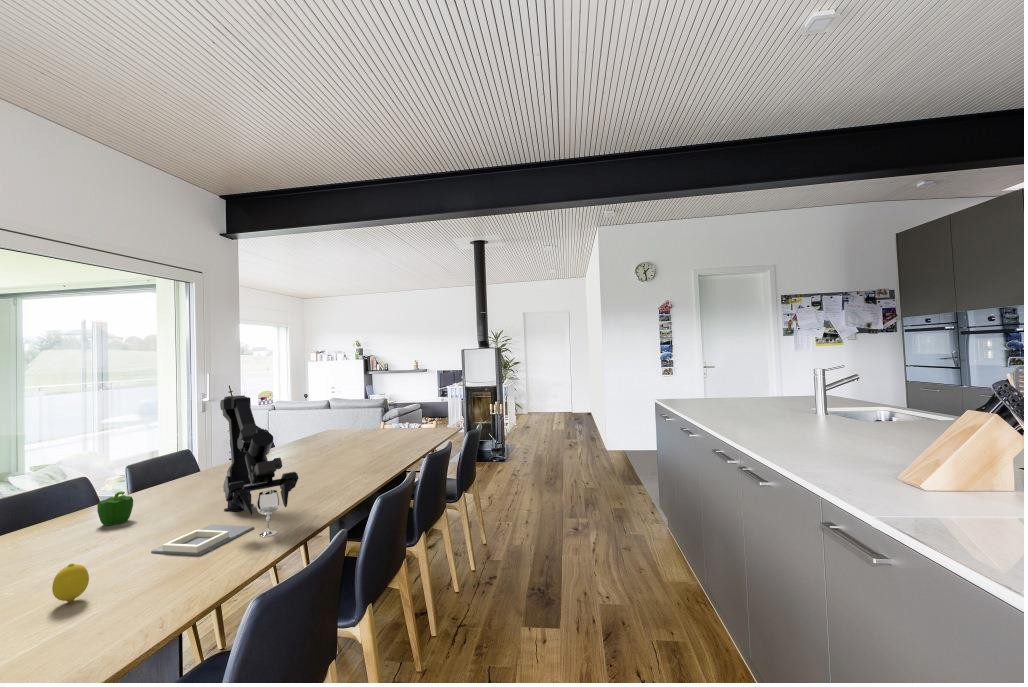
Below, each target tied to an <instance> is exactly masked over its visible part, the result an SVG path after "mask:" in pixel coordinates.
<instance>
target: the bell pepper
mask: <svg viewBox="0 0 1028 687" xmlns="http://www.w3.org/2000/svg"><path fill="white" fill-rule="evenodd" d="M124 494H126V492H125V491H123V490H122V491H120V490H119V491H117V492H116V493H115V494H114V496H109V497H107V498H106V499H102V500H100V501H99V502H98V503H97V504H96V506H97V507H96V508H97V514H98V518H99V521H100V523H101V524H102V525H104V526H112V525H117V524H122V523H123V524H124V523H126V522H127V521H128V520H129V519H130V517H131V515H132V512H133V507H134V498H133V497H132V496H130V495H129V496H128V495H124Z"/></svg>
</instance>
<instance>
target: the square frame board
mask: <svg viewBox="0 0 1028 687" xmlns="http://www.w3.org/2000/svg"><path fill="white" fill-rule="evenodd" d="M254 529H255V526H253V525H251V526H250V525H231V524H230V525H227V524H209V525H207V526H204V527H202V528H200V529H196V530H193V531H191V532H189V533H186V534H184V535H181V536H178V537H177V538H175V539H172V540H170V541H169V542H166V543H164V544H162V545H161V546H159V547H157V548H154V549H153V550H151V554H160V555H161V554H165V555H166V554H167V555H168V554H169V555H179V554H180V555H183V556H198V555H199V556H198V557H200V556H203V555H205V554H207V553H208V551H209V552H210V550H211V551H213V550H214V548H215V549H216V547H217V548H218V547H221V546H223V545H224V544H226V543H228V542H230V541H232V540H234V539H236V538H238V537H240V536H242V535H243V534H246V533H248V532H250V531H252V530H254ZM212 549H213V550H212ZM206 552H207V553H206ZM204 553H205V554H204ZM202 554H203V555H202ZM180 555H179V556H180Z"/></svg>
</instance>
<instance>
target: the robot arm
mask: <svg viewBox="0 0 1028 687" xmlns="http://www.w3.org/2000/svg"><path fill="white" fill-rule="evenodd" d="M219 403H220V404H219V406H220V407H219V408H220V410H221V411H222V416H223V417H224V418H225V419H226V421H227V422H228V428H229V430H228V431H229V442H230V443H229V444H230V456H231V459H230V460H231V463H230V464H229V467H228V470H227V471H226V475H225V478H224V481H223V485H222V487H223V492H224V494H225V496H224V498H225V501H226V503H227V507H226V508H224V509H223V511H224V512H226V511H227V512H228V511H229V512H241V511H245V512H246V513H247V514H248V515H249V516H252V515H253V510H252V507H253V506H255V504H254V503H252V493H251V492H253V491H260V490H264V489H265V490H266V489H270V488H275V487H279V488H280V495H281V500H282V504H283V507H284V508H287V507H288V501H289V494H290V492H292V490H293V489H294V488H296V485H297V483H298V482H299V481H298V480H299V473H297V472H296V471H291V472H285V473H282V475H281V478H277V479H273V478H275V476H276V474H275V473H276V472H277V470H281V469H282V468H283V461H282V457H275V458H273V459H272V460H268V457H267V455H269V454H270V450H271V448H272V445H273V442H274V436H273V435H272V434H271V432H268V431H265V429H264V428H262V427H260V426H258V425H257V424H256V421H255V418H254V417H255V416H254V414H253V411H252V408H251V406H252V405H251V397H249V396H246V395H244V394H243V395H230V396H224V398H223V399H221V400H220V402H219Z"/></svg>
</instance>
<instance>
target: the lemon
mask: <svg viewBox="0 0 1028 687" xmlns="http://www.w3.org/2000/svg"><path fill="white" fill-rule="evenodd" d="M89 582H90V574H89V570H87V568H86V567H85V566H84V565H81V564H79V563H77V564H75V563H69V564H68V565H66V566H64V567H63V568H62V569H61V570H59V571H58V572H57V573H56V575H55V577H54V579H53V581H52V586H51V588H52V589H51V592H52V595H53V597H54V598H55V599H57V600H59V601H61V602H67V603H72V602H74V601H75V600H76V598H78V597H80V596H81V595H82V594H83V593H84V592H86V589H87V588H88V585H89Z"/></svg>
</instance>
